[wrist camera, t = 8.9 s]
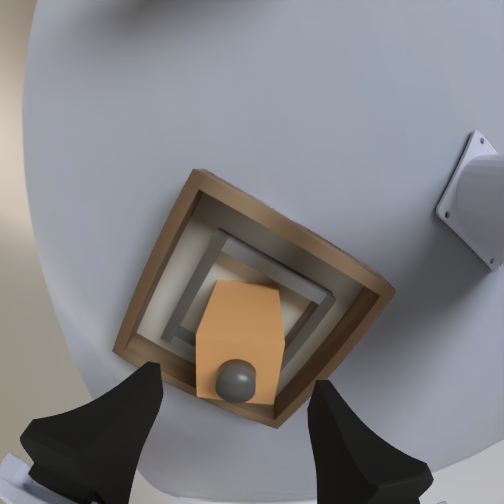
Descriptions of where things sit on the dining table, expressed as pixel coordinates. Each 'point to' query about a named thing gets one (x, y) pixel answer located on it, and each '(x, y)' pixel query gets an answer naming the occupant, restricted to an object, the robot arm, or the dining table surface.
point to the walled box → (256, 271)
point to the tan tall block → (240, 343)
